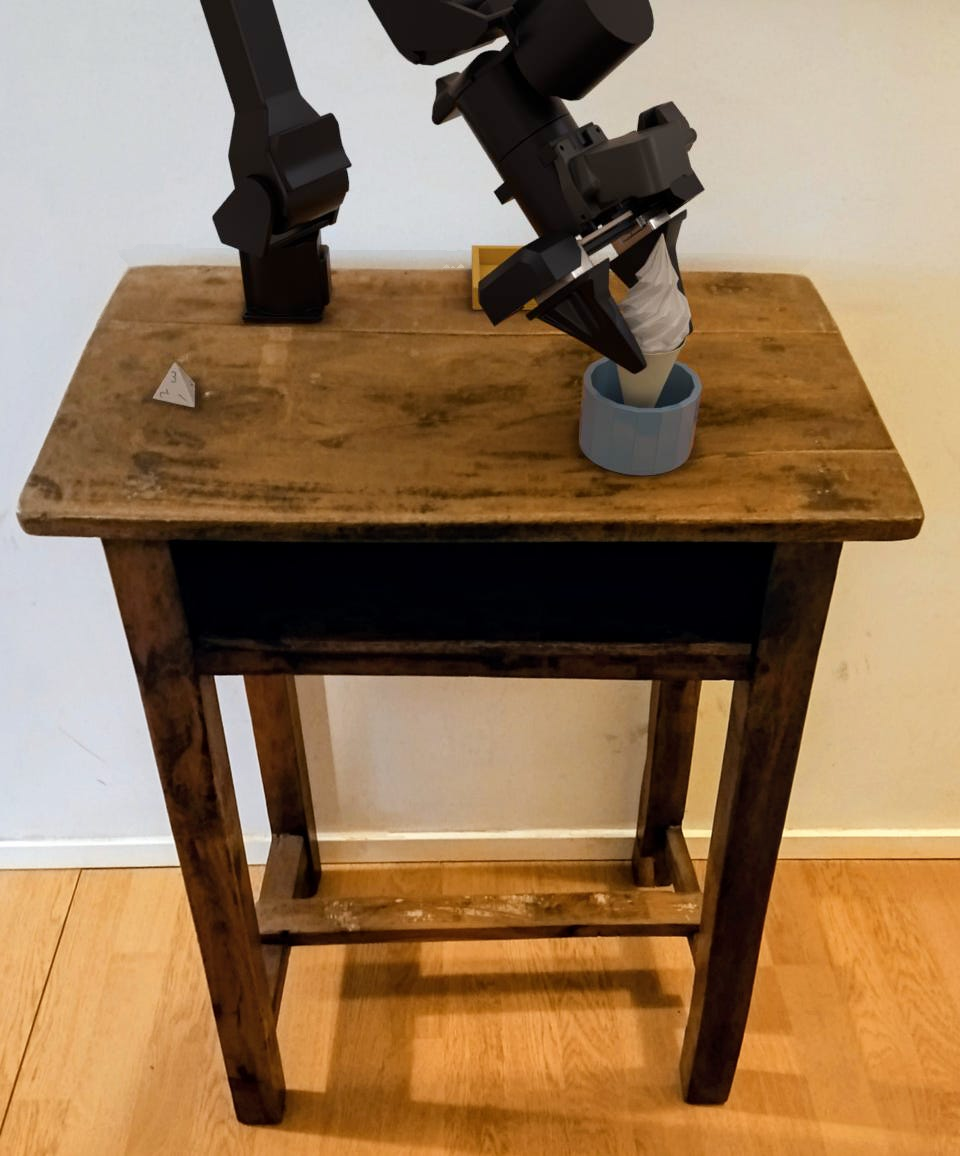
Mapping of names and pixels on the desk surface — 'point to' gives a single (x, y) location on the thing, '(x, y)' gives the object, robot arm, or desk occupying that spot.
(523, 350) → the desk surface
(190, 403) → the tetrahedral die
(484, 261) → the tray
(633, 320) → the ice cream cone
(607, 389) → the cup
